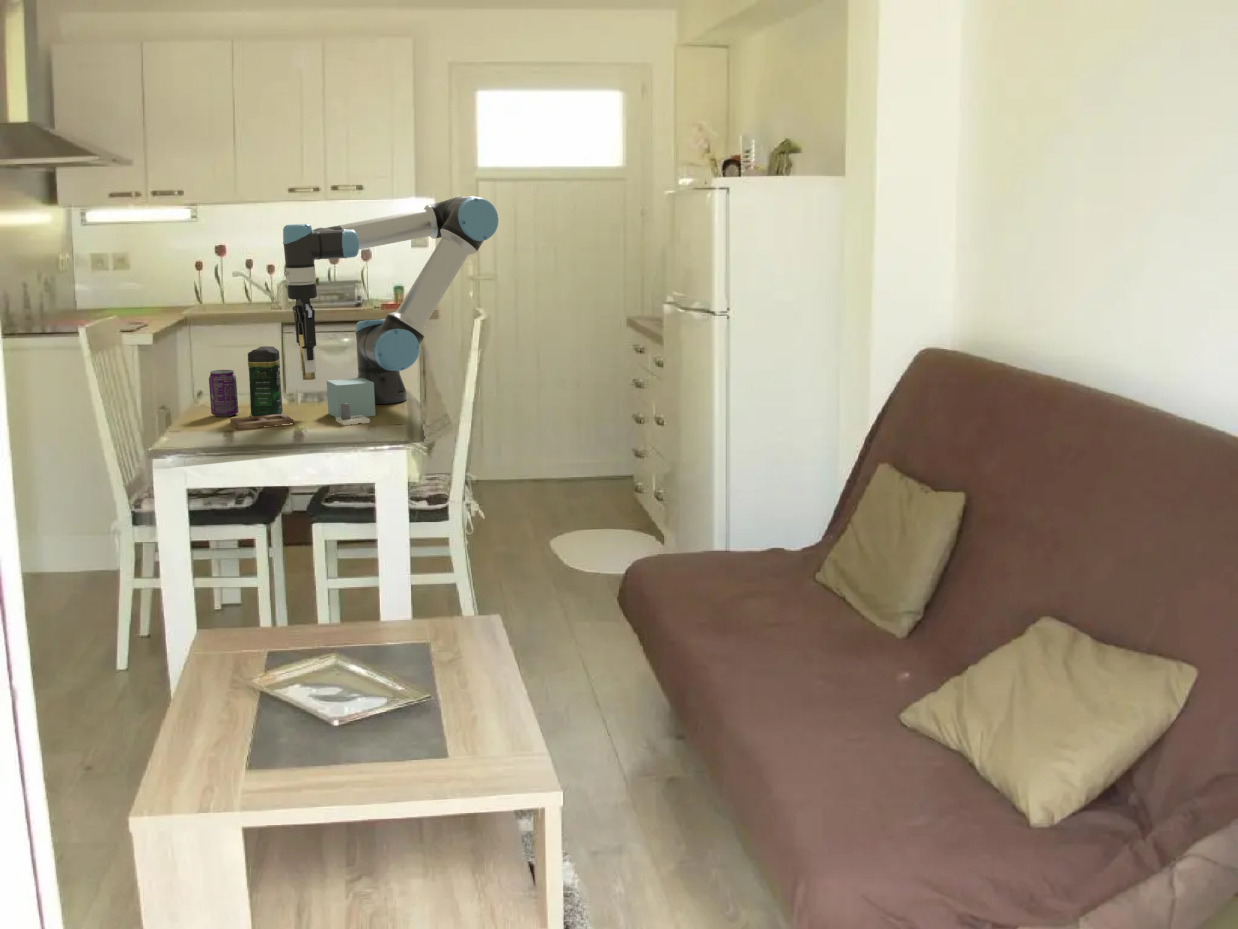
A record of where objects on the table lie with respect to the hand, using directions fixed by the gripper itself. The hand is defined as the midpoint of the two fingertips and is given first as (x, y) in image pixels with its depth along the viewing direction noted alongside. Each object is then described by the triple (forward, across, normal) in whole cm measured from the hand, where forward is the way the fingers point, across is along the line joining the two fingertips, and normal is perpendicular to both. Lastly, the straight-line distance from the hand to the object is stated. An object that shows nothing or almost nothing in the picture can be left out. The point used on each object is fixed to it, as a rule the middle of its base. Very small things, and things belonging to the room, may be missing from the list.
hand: (308, 371), depth 369 cm
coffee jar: (+12, -5, -11) cm, 17 cm away
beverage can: (+12, -11, -21) cm, 26 cm away
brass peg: (+2, 0, 0) cm, 2 cm away
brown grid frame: (+11, +8, -15) cm, 21 cm away
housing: (+12, +6, +9) cm, 16 cm away
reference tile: (+12, +17, +6) cm, 22 cm away
